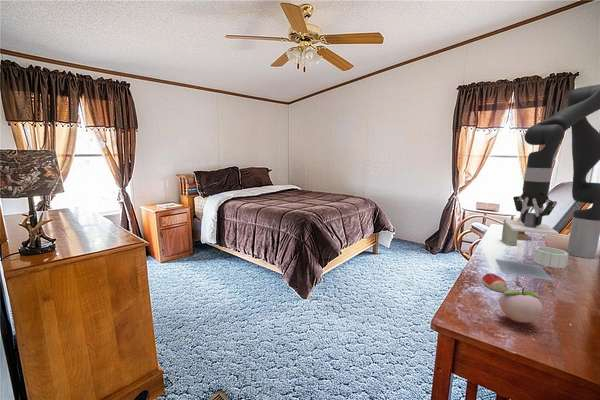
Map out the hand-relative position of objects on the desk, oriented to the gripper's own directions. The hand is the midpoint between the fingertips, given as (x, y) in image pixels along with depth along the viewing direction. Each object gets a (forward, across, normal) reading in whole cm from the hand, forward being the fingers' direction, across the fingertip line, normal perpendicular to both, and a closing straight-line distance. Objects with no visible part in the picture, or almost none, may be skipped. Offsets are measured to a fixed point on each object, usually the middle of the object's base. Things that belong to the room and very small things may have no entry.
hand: (530, 224), depth 104 cm
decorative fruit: (+19, -23, +39) cm, 49 cm away
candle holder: (+19, +30, -44) cm, 57 cm away
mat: (+19, 0, +1) cm, 19 cm away
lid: (+2, 0, 0) cm, 2 cm away
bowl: (+19, +1, -16) cm, 25 cm away
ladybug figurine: (+19, -6, +24) cm, 31 cm away
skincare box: (+19, +25, -28) cm, 42 cm away
